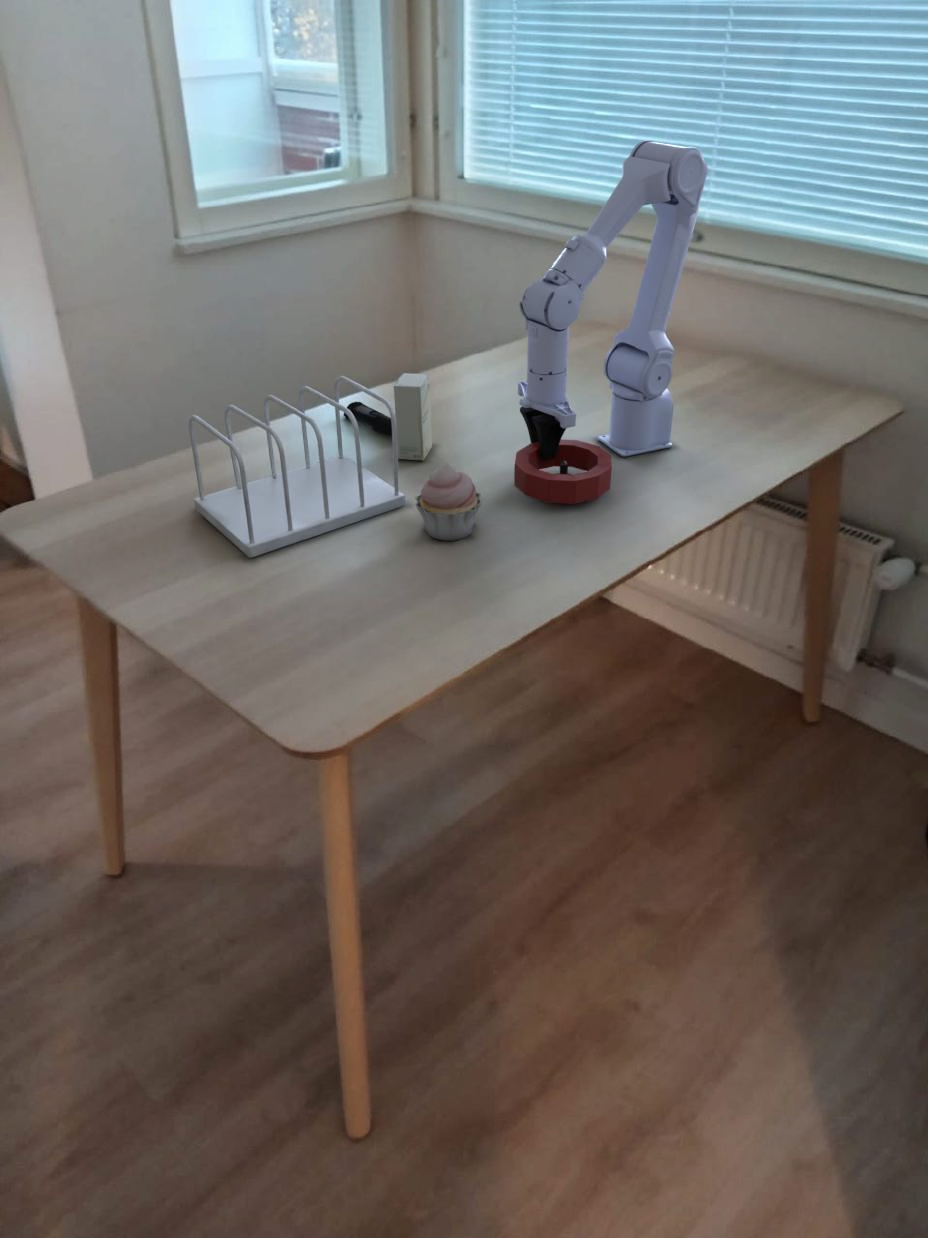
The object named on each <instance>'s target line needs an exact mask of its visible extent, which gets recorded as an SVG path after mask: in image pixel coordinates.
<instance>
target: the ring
mask: <svg viewBox="0 0 928 1238" xmlns="http://www.w3.org/2000/svg"><path fill="white" fill-rule="evenodd" d="M562 461H566V462H567V463H568V468H574V469H577V470H582V472H576V473H572V474H573V475H569V474H570V473H568V474H556V473H551V472H547V471H544V469H549V468H553V467H559V468H560V463H561V462H562ZM612 473H613V458H612V454H610V453H609V452H608V451H606V449H604V448H603V447H601V446H599V445H596V444H593V443H589V442H585V441H582V440H577V439H561V441H560V443H559V446H558V450H557V453H556V456H555V458H554V459H550V460H545V461H543V460H542V459H541V457H540V451H539V442H536V443H531V442H530V443H529V444H527V445H526V446H524V447H523V448H521V449H519V450H517V451H516V453H515V459H514V479H513V480H514V481H513V483H514V484H513V485H514V486H515V487H516V488H517V489H518V490H519V492H521V493H522V494H523V495H524V496H525V497H529V498H532V499H534V500H538V501H540V502H541V501H542V502H544V503H547V504H573V505H574V504H579V503H584V502H587V501H592V500H597V499H599V498H600V497H601V496H603V495H604V494H605V493H607V492H608V491H609V490H610V489H611V484H612Z"/></svg>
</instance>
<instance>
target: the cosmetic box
mask: <svg viewBox="0 0 928 1238" xmlns="http://www.w3.org/2000/svg"><path fill="white" fill-rule="evenodd" d="M430 388H431V387H430V374H428V373H414V372H413V373H412V372H403V373H402V374H401V375H400V376H399V378H398V379H397V381H396V382H395V384H394V385H393V394H394V395H393V397H394V412H395V415H396V423H397V454H398V460H408V461H425V459H426V457H427V456H428V455H429V453H430V450H431V449H432V447H433V429H432V428H433V427H432V409H431V407H432V406H431V389H430Z"/></svg>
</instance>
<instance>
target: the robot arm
mask: <svg viewBox="0 0 928 1238" xmlns="http://www.w3.org/2000/svg"><path fill="white" fill-rule="evenodd" d="M708 174H709V167H708V164H707V161H706V160H705V157H704V155H703V153H702V152H701V150H700V149H699V148H697V147H694V146H680V145H675V144H670V143H669V144H668V143H661V142H655V141H654V140H651V139H643V140H641V141H640V142H638V143H637V144H636V145H635V146H634V147H633V148H632V150H631V152H630V154H629V156H628V157H627V158H626V159H625V160H623V163H622V168H621V178H620V180H619V182H618V183H617V184H616V186H615V188H614V189H613V191H612V193H611V194H610V196H609V197H608V199H607V200H606V201H605V203H604V205H603V207H602V208H601V210H600V211H599V213H598V215H597V216H596V217H595V219H594V221H593V222H592V224H591V225H590V227H589V229H588V230H587V232H585V233H581V234H575V235H573V237H572V238H569V239H568V241H567V242H566V243H565V244H564V249H563V250H562V251H561V252H560V254H559V255H558V257H557V258H556V260H555V261H554V262H553V263H552V264H551V266H550V268H549V269H548V270H547V271H546V273H545V274H544V276H543V277H542V278H541V279H537V280H536V281H533V282H532V283H530V284H529V285H528V286H527V288H526V289H525V290H524V292H523V295H522V300H521V301H520V302H519V303H518V307H519V311H520V314H521V316H522V317H523V318H524V320H525V330H526V332H527V362H526V368H527V369H526V380H525V381H519V382H517V395H518V396H520V397H523V398H521V399H519V400H518V401H519V405H520V406H521V407H520V408H519V412H520V414H521V416H522V418H523V421H524V424H525V425H526V428H527V431H528V435H529V440H530V444H531V443H536V442H539V451H540V457H541V459H542V460H543V461H545V460H550V459H554V458H555V456H556V453H557V450H558V446H559V443H560V441H561V440H562V438H563V436H564V434H565V432H566V430H567V429H568V428H569V429H570V428H573V427H576V421H577V420H576V419H577V413H576V412H574V410H573V409H572V406H571V403H570V401H569V399H568V397H567V378H568V377H567V376H568V375H567V374H568V352H569V336H570V335H569V334H570V326H571V325H572V324H573V323H574V322H575V321H576V320H577V318H578V315H579V313H580V308H581V303H582V301H583V299H584V296H585V292H586V290H587V289H588V288H589V287H590V286H591V284H592V283H593V281H594V280H595V278H596V277H597V276H598V275H599V273H600V271H602V269H603V267H604V266H605V265H606V263H607V248H608V247H609V246H610V245H611V244H612V242H613V241H614V240H615V239H616V238H617V237H618V235H619V234H620V233H621V232H622V231H623V230H624V228H625V227H626V226H627V225H628V224H629V222H631V220H632V219H633V218H634V217H635V216H636V214H638V212H639V211H640V210H641V209H642V207H645V206H649V205H651V206H652V209H653V211H654V212H655V214H656V216H657V219H656V223H655V227H654V231H653V235H652V239H651V243H650V246H649V250H648V254H647V258H646V262H645V266H644V270H643V273H642V278H641V281H640V285H639V289H638V291H637V297H636V301H635V303H634V304H635V305H634V308H633V312H632V315H631V320H630V323H629V326H627V327H626V328H624V329H622V330H620V331H618V332H617V333H616V334H615V335H614V339H613V343H612V345H611V348H610V349H609V351H608V352H607V354H606V356H605V359H604V361H603V374H604V376H605V378H606V380H607V381H609V389H611V390H612V392H611V393H612V394H611V408H610V418H609V431H608V434H607V433H606V434H603V435H598V437H597V440H599V441H600V443H603V444H604V445H606V446H607V447H608V448H610V449H611V450H612V451H614V452H615V453H617V455H619V456H621V457H623V458H624V457H630V456H635V455H639V454H645V453H649V452H653V451H657V450H663V449H669V448H672V447H673V443H672V442H671V434H672V425H673V417H674V399H673V397H672V394H671V392H670V391H669V389H668V387H669V386H670V384H671V382H672V378H673V361H674V355H675V352H676V351H675V348H674V346H673V345H672V343H671V342H670V340H669V338H668V337H667V334H666V330H667V326H668V324H669V320H670V316H671V312H672V308H673V305H674V301H675V298H676V294H677V291H678V286H679V284H680V283H679V282H680V279H681V276H682V273H683V269H684V265H685V262H686V259H687V258H686V257H687V254H688V251H689V248H690V243H691V241H692V236H693V232H694V229H695V225H696V222H697V218H698V214H699V210H700V202H701V199H702V195H703V192H704V188H705V185H706V181H707V177H708Z"/></svg>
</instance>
